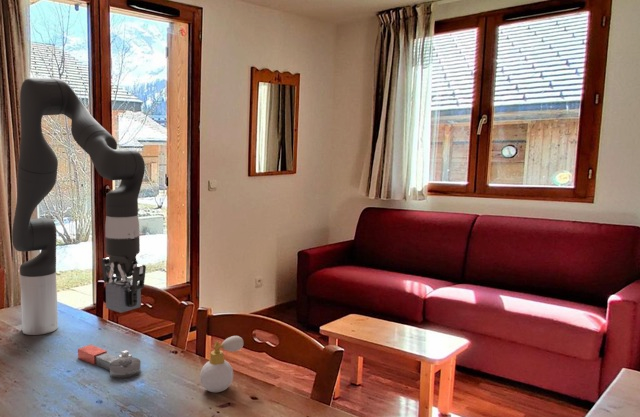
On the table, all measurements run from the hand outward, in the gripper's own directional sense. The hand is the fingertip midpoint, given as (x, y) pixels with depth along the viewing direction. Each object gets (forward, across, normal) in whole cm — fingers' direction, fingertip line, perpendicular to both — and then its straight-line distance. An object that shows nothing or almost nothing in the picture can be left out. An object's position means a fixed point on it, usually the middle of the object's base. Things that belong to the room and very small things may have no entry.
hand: (123, 303), depth 122 cm
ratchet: (+18, -7, 0) cm, 19 cm away
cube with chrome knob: (+1, 0, 0) cm, 1 cm away
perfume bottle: (+18, +24, +8) cm, 31 cm away
